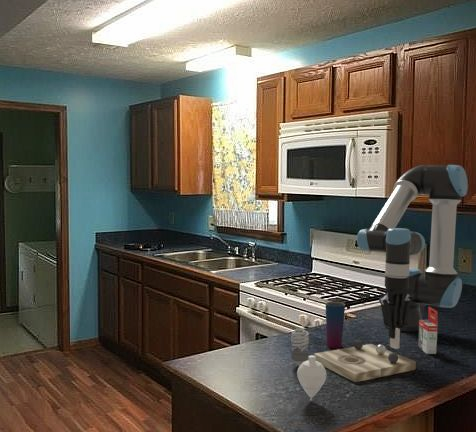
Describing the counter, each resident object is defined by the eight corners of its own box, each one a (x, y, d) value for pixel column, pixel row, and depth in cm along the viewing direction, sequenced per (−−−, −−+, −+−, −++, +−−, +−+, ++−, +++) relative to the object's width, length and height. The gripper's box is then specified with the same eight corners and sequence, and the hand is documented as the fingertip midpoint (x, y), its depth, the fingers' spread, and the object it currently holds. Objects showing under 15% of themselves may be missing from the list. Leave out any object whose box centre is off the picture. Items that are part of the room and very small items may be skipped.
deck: (371, 350, 183) (371, 343, 183) (415, 369, 165) (415, 361, 165) (313, 361, 172) (314, 353, 172) (354, 382, 154) (355, 373, 154)
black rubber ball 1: (358, 347, 179) (358, 338, 179) (364, 349, 176) (364, 340, 176) (351, 348, 178) (351, 339, 177) (357, 350, 175) (357, 342, 175)
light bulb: (287, 364, 168) (287, 327, 167) (302, 362, 170) (303, 325, 170) (296, 370, 163) (296, 332, 162) (311, 368, 165) (312, 330, 165)
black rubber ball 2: (393, 360, 166) (393, 350, 166) (400, 363, 164) (400, 353, 163) (385, 361, 165) (386, 352, 165) (392, 364, 162) (393, 355, 162)
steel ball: (381, 352, 174) (381, 342, 174) (388, 355, 171) (388, 345, 171) (373, 353, 172) (373, 343, 172) (380, 356, 170) (380, 346, 169)
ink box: (426, 354, 180) (427, 311, 179) (417, 346, 188) (418, 306, 187) (436, 354, 180) (438, 311, 179) (427, 346, 188) (429, 306, 187)
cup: (344, 349, 184) (345, 306, 183) (324, 348, 185) (325, 305, 184) (344, 343, 191) (345, 302, 190) (324, 342, 192) (325, 301, 191)
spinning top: (293, 403, 139) (294, 358, 138) (300, 393, 146) (301, 350, 145) (322, 408, 136) (323, 362, 135) (328, 397, 143) (329, 353, 142)
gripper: (403, 272, 179) (400, 341, 181) (373, 275, 173) (371, 347, 175) (420, 276, 172) (417, 348, 174) (390, 279, 166) (387, 353, 168)
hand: (394, 347), depth 174 cm, fingers closed
